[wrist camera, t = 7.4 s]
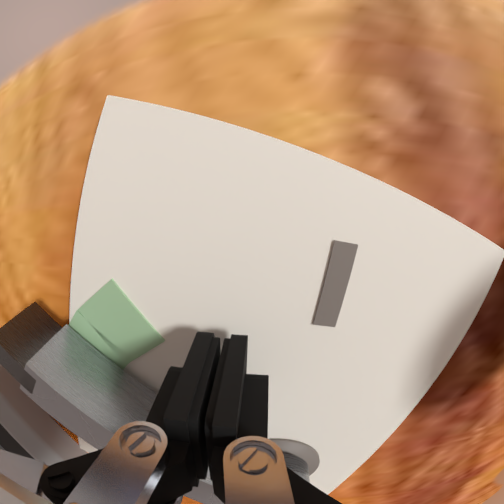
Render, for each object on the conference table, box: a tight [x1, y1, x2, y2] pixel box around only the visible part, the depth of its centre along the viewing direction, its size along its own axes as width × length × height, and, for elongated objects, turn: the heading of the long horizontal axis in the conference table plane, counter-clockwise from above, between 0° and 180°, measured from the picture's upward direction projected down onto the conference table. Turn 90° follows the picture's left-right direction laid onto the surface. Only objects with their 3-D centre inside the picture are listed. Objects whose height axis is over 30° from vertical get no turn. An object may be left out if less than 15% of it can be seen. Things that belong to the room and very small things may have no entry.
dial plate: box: [69, 95, 504, 495], centre depth 12 cm, size 20×17×1 cm
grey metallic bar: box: [0, 302, 310, 504], centre depth 10 cm, size 16×4×4 cm, turn 51°
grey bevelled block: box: [0, 364, 88, 466], centre depth 15 cm, size 10×4×15 cm
